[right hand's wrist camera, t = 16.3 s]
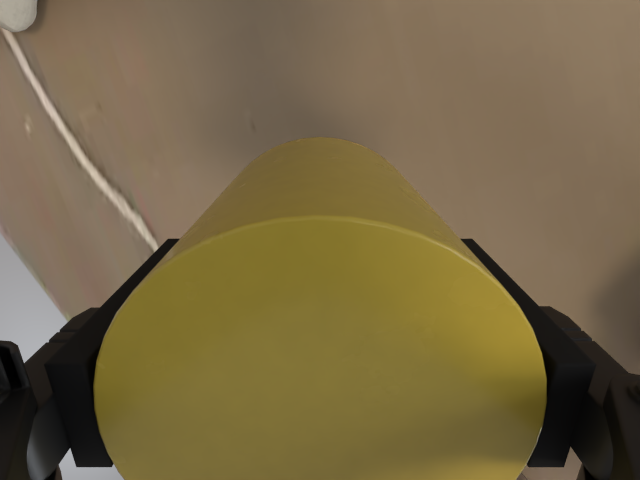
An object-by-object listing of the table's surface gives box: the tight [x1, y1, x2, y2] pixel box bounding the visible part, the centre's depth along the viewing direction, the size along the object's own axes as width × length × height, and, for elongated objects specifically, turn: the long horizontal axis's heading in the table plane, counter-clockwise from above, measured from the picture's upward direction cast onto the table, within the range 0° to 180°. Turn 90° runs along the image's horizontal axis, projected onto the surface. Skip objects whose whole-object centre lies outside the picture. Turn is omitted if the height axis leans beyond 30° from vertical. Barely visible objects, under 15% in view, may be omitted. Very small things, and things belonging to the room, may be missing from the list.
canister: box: [93, 137, 547, 480], centre depth 13 cm, size 9×9×10 cm
